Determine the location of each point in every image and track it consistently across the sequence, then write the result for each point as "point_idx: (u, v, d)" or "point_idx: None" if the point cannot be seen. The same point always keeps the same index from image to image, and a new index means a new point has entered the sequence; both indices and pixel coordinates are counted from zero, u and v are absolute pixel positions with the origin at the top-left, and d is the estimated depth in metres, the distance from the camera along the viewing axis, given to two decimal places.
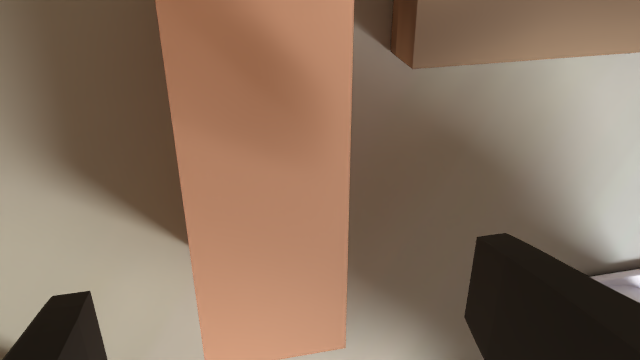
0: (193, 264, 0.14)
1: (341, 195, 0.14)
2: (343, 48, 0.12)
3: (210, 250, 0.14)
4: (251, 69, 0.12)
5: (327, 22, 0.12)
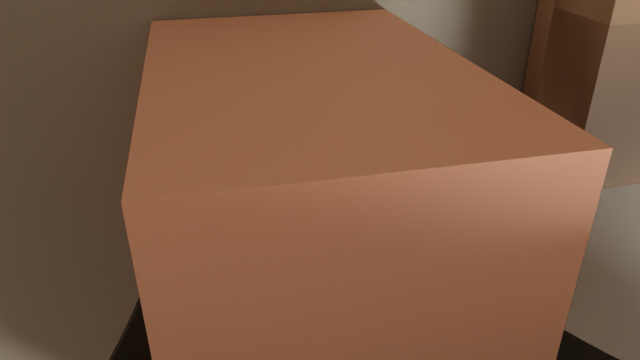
0: None
1: None
2: (562, 264, 0.05)
3: None
4: (356, 324, 0.05)
5: (539, 216, 0.05)
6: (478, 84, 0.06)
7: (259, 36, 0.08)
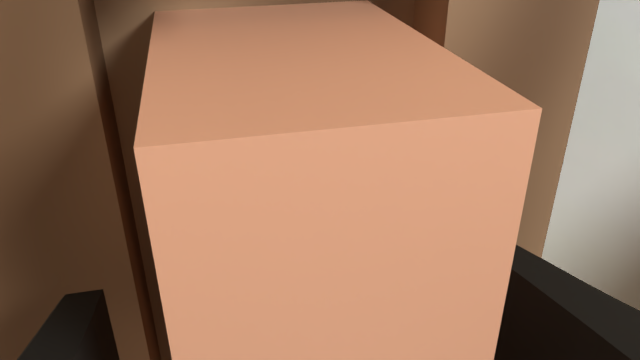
0: None
1: None
2: (505, 210, 0.06)
3: None
4: (329, 260, 0.06)
5: (483, 166, 0.06)
6: (439, 61, 0.07)
7: (251, 23, 0.09)
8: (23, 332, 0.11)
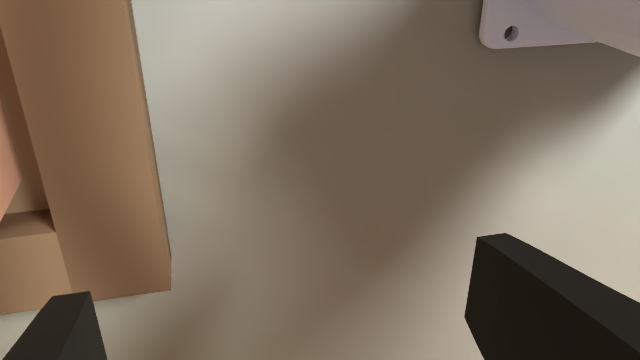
0: None
1: None
2: None
3: None
4: None
5: None
6: None
7: None
8: None
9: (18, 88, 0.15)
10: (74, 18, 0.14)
